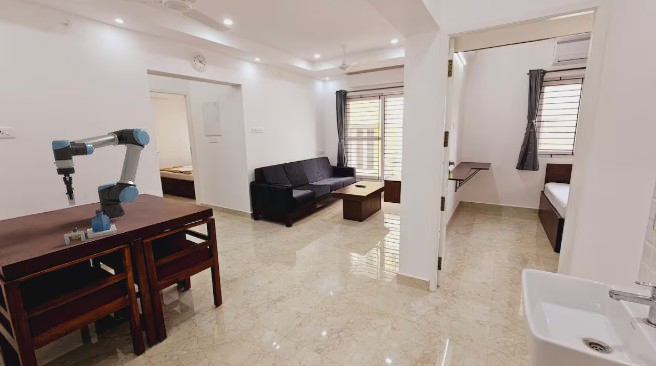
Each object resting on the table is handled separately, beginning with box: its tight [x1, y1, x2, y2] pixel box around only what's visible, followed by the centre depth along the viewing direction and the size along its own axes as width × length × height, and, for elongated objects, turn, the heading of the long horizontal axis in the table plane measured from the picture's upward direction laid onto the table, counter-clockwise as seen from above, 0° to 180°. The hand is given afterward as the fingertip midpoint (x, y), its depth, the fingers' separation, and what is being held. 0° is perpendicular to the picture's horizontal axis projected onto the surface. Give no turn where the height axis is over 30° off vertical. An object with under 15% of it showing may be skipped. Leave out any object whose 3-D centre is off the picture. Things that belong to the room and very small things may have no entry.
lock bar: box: [71, 226, 80, 241], centre depth 162 cm, size 8×3×5 cm, turn 41°
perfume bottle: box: [90, 209, 112, 231], centre depth 168 cm, size 6×6×12 cm
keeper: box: [63, 230, 86, 246], centre depth 155 cm, size 2×8×5 cm, turn 131°
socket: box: [86, 223, 118, 239], centre depth 169 cm, size 14×14×2 cm
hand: (72, 202), depth 167 cm, fingers open, 13 cm apart
